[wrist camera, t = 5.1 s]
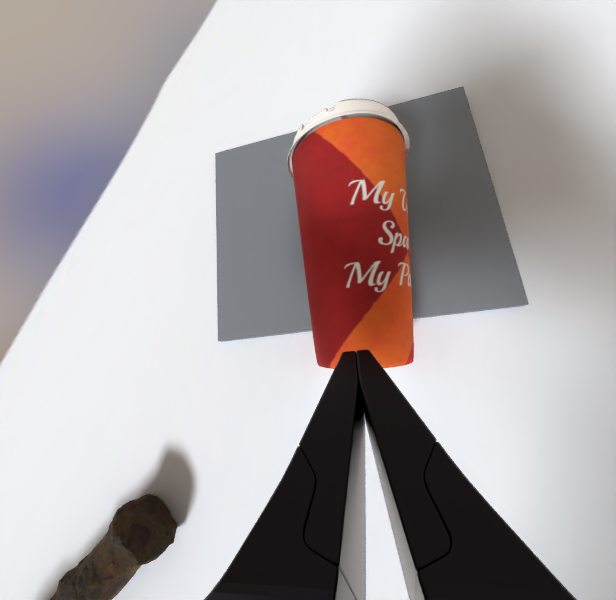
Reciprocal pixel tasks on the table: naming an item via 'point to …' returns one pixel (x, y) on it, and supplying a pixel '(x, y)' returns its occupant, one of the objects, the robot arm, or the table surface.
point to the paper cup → (355, 231)
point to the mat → (421, 223)
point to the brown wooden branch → (121, 551)
